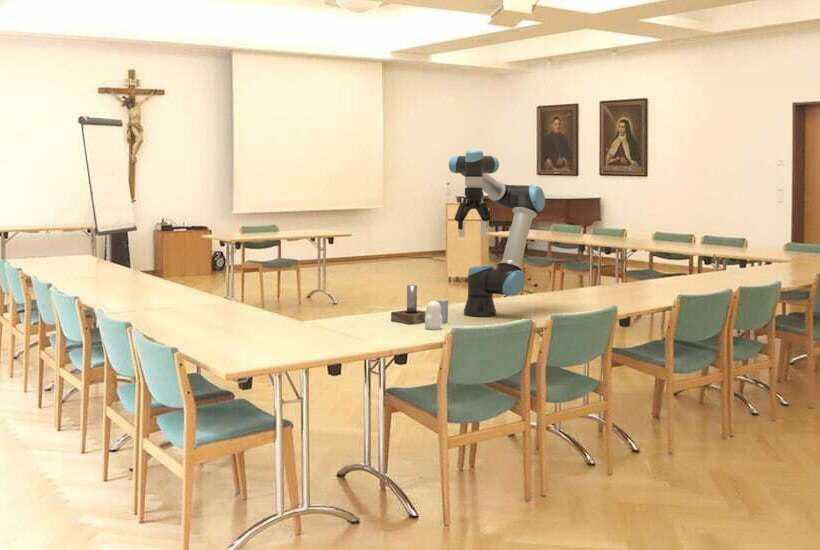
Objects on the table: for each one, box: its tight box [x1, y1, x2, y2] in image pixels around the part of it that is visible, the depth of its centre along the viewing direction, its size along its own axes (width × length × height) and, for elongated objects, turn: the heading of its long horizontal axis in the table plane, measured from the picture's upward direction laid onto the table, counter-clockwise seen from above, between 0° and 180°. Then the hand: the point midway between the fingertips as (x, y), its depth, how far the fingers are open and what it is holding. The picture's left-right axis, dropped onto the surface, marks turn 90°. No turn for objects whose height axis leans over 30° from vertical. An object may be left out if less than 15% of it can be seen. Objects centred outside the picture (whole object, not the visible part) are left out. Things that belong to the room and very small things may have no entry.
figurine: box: [424, 300, 442, 331], centre depth 380 cm, size 7×8×12 cm
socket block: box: [390, 309, 426, 326], centre depth 398 cm, size 13×13×4 cm
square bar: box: [435, 299, 449, 325], centre depth 395 cm, size 4×4×10 cm
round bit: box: [406, 284, 418, 314], centre depth 397 cm, size 4×4×16 cm
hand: (472, 236), depth 385 cm, fingers open, 13 cm apart
